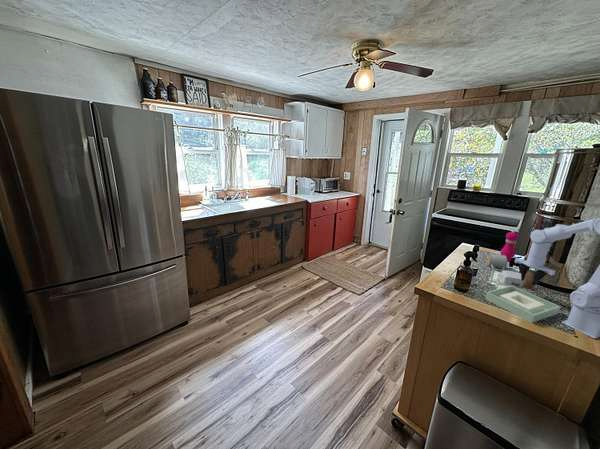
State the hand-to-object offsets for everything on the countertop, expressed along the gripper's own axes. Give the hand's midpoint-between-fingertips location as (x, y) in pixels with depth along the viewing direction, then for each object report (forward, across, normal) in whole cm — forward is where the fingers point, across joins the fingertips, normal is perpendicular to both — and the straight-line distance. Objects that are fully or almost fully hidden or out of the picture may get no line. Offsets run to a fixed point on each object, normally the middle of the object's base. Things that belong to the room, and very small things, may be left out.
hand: (529, 282), depth 117 cm
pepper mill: (+7, +30, -36) cm, 47 cm away
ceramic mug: (+7, +24, -18) cm, 31 cm away
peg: (+2, 0, 0) cm, 2 cm away
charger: (+7, +11, -10) cm, 17 cm away
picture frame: (+7, -5, +14) cm, 16 cm away
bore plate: (+6, -5, +14) cm, 16 cm away
